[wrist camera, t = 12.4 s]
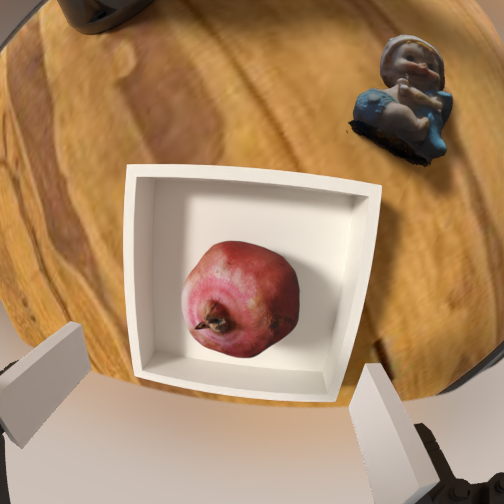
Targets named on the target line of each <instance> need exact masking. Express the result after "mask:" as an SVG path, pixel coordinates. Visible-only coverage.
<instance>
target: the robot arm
mask: <svg viewBox="0 0 504 504" xmlns="http://www.w3.org/2000/svg"><path fill="white" fill-rule="evenodd" d="M57 1H58V3H59V5H60V7H61V9H62V11H63V13H64V15H65V17H66V19H67V21H68V23H69V24H70V26H71V27H73V28H74V29H76V30H77V31H78V32H80V33H83V34H95V33H99V32H103V31H106V30H108V29H111V28H113V27H115V26H117V25H119V24H121V23H123V22H125V21H126V20H128V19H130V18H131V17H133V16H134V15H136V14H137V13H138V12H140V11H141V10H143V9H144V8H145V7H146V6H148V5H149V4H150V3H151V2H152V1H153V0H57ZM91 369H92V368H91V365H90V361H89V357H88V352H87V348H86V344H85V339H84V334H83V329H82V324H78V323H75V322H72V321H70V322H69V323H67V324H66V325H64V326H63V327H62V328H60V329H59V330H58V331H56V332H55V333H54V334H52V335H51V336H50V337H48V338H47V339H46V340H45V341H43V342H42V343H41V344H39V345H38V346H37V347H35V348H34V349H33V350H32V351H30V352H29V353H28V354H26V355H25V356H24V357H23V358H21V359H20V360H17V361H15V362H13V363H10V364H9V365H8V366H7V367H5V368H4V370H2V371H0V504H11V503H10V498H9V491H8V484H7V476H6V462H5V440H4V436H3V435H2V434H3V433H4V432H6V434H7V435H8V437H9V438H10V440H11V441H12V442H14V443H15V444H16V445H17V446H19V447H20V448H21V449H23V448H24V446H25V445H26V444H27V443H28V441H29V440H30V439H31V438H32V437H33V435H34V434H35V433H36V432H37V431H38V429H39V428H40V427H41V426H42V425H43V423H44V422H45V421H46V420H47V419H48V418H49V416H50V415H51V414H52V413H53V412H54V411H55V410H56V408H57V407H58V406H59V405H60V404H61V403H62V401H63V400H64V399H65V398H66V397H67V396H68V395H69V394H70V392H71V391H72V390H73V389H74V388H75V387H76V386H77V385H78V384H79V383H80V381H81V380H82V379H83V378H84V377H85V376H86V375H87V374H88V372H90V370H91ZM348 408H349V412H350V415H351V418H352V422H353V425H354V428H355V432H356V435H357V439H358V442H359V446H360V449H361V453H362V456H363V460H364V464H365V468H366V471H367V475H368V479H369V483H370V486H371V491H372V495H373V499H374V503H375V504H504V473H503V472H500V473H497V474H495V475H494V476H493V477H492V478H491V479H490V480H489V481H488V482H484V483H477V484H470V483H468V481H466V480H464V479H457V478H455V476H454V475H453V473H452V471H451V469H450V466H449V464H448V462H447V460H446V458H445V457H444V454H443V453H442V451H441V450H440V447H439V445H438V443H437V442H436V439H435V437H434V435H433V434H432V432H431V430H430V429H428V428H427V427H426V426H425V425H424V424H423V423H420V424H414V425H413V423H412V421H411V419H410V417H409V415H408V413H407V411H406V409H405V407H404V405H403V403H402V402H401V400H400V398H399V396H398V394H397V392H396V390H395V389H394V387H393V385H392V383H391V381H390V379H389V378H388V376H387V374H386V372H385V370H384V369H383V367H382V365H381V363H365V365H364V368H363V371H362V374H361V376H360V379H359V382H358V385H357V387H356V390H355V392H354V395H353V397H352V400H351V402H350V405H349V407H348Z"/></svg>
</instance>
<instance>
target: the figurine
mask: <svg viewBox="0 0 504 504" xmlns="http://www.w3.org/2000/svg"><path fill="white" fill-rule="evenodd" d="M380 76H381V78H382V79H383V81H384V83H385V85H386V86H387V87H389V89H385V90H381V89H377V88H371V89H368V90H367V91H366V92H363V93H361V94H360V95H359V96H358V98H357V101H356V103H355V107H354V111H353V118H354V120H353V121H351V122H349V124H350V125H351V127H352V130H353V131H354V132H355V133H357V134H358V135H360V136H361V135H363V136H366V137H367V138H368V139H370V140H372V141H374V142H375V144H377V145H378V146H380V147H382V148H385V149H389V151H390V152H391V153H393V155H395V156H399V157H401V158H403V159H405V160H406V161H408V162H409V163H411V164H413V165H414V164H416V165H418V164H419V165H423V166H424V167H426V166H427V165H430V164H431V161H432V159H434V158H439V157H440V156H444V155H445V153H446V151H447V147H446V145H445V142H444V141H443V139H442V138H441V131H442V129H443V127H444V125H445V123H446V122H447V120H448V118H449V116H450V113H451V110H452V105H453V98H452V95H451V94H449V93H447V92H444V91H443V89H444V85H445V76H444V62H443V59H442V58H441V56H440V54H439V52H438V51H437V50H436V49H435V48H434V47H433V46H432V45H430V44H429V43H427V42H426V41H424V40H422V39H420V38H418V37H416V36H411V35H399V36H397V37H395V38H391V39H389V42H388V43H387V44H386V46H385V48H384V50H383V53H382V57H381V62H380ZM378 132H381V134H382V135H383V136H384V137H380V138H379V137H378V136H377V135H378ZM347 133H348V132H347ZM387 137H391V138H393V139H395V140H396V143H393V142H391V140H390V139H388V138H387ZM408 145H409V149H408V150H407V151H406V152H405V149H406V148H407V146H408Z"/></svg>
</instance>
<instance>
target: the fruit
mask: <svg viewBox="0 0 504 504" xmlns="http://www.w3.org/2000/svg"><path fill="white" fill-rule="evenodd" d="M181 299H182V312H183V316H184V319H185V323H186V325H187V328H188V330H189V332H190V334H191V335H192V337H193V338H194V339H195V340H196V341H197V342H199V343H200V344H201V345H202V346H204V347H206V348H208V349H211V350H214V351H217V352H220V353H223V354H225V355H228V356H232V357H236V358H253V357H255V356H257V355H259V354H260V353H262V352H263V351H265V350H266V349H268V348H269V347H270V346H272V345H274V344H276V343H277V342H279V341H280V340H282V339H283V338H284V337H286V336H287V335H288V334H289V333H291V332H292V331H293V329H294V328H295V327H296V325H297V323H298V320H299V311H300V288H299V283H298V278H297V274H296V272H295V270H294V269H293V267H292V266H291V265H290V264H289V262H288V261H286V259H285V258H284V257H283V256H281V255H279V254H278V253H276V252H274V251H271V250H269V249H267V248H265V247H262V246H259V245H255V244H252V243H248V242H243V241H224V242H220V243H217V244H215V245H213V246H212V247H211V248H210V249H209V250H208V251H207V252H206V253H205V254H204V255H203V257H202V258H201V259H200V261H199V262H198V264H197V265H196V266H195V268H194V269H193V270H192V271H191V272H190V274H189V275H188V277H187V279H186V281H185V284H184V287H183V290H182V295H181Z"/></svg>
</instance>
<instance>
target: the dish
mask: <svg viewBox="0 0 504 504" xmlns="http://www.w3.org/2000/svg"><path fill="white" fill-rule="evenodd" d="M381 192H382V185H377V184H371V183H366V182H360V181H354V180H348V179H342V178H335V177H328V176H321V175H314V174H306V173H298V172H289V171H279V170H269V169H258V168H245V167H231V166H212V165H183V164H132V165H127V172H126V184H125V201H124V232H123V253H124V284H125V300H126V313H127V323H128V333H129V341H130V349H131V356H132V363H133V369H134V375H135V376H137V377H140V378H144V379H148V380H152V381H156V382H160V383H164V384H169V385H173V386H178V387H183V388H188V389H193V390H199V391H204V392H210V393H217V394H223V395H231V396H238V397H247V398H256V399H268V400H281V401H302V402H335V401H336V399H337V396H338V393H339V390H340V387H341V384H342V381H343V378H344V375H345V372H346V369H347V365H348V362H349V359H350V355H351V352H352V348H353V345H354V341H355V337H356V334H357V330H358V326H359V322H360V318H361V314H362V310H363V305H364V301H365V296H366V292H367V287H368V282H369V277H370V271H371V266H372V260H373V254H374V248H375V242H376V235H377V227H378V220H379V211H380V202H381ZM224 241H243V242H248V243H252V244H255V245H259V246H262V247H265V248H267V249H269V250H271V251H274V252H276V253H278V254H279V255H281V256H283V257H284V258H285V259H286V261H288V262H289V264H290V265H291V266H292V267H293V269H294V270H295V272H296V274H297V278H298V283H299V288H300V311H299V320H298V323H297V325H296V327H295V328H294V329H293V331H292V332H291V333H289V334H288V335H287V336H286V337H284V338H283V339H282V340H280V341H279V342H277V343H276V344H274V345H272V346H270V347H269V348H268V349H266V350H265V351H263V352H262V353H260V354H259V355H257V356H255V357H253V358H236V357H232V356H228V355H225V354H223V353H220V352H217V351H214V350H211V349H208V348H206V347H204V346H202V345H201V344H200V343H199V342H197V341H196V340H195V339H194V338H193V337H192V335H191V334H190V332H189V330H188V328H187V325H186V323H185V319H184V316H183V312H182V299H181V295H182V290H183V287H184V284H185V281H186V279H187V277H188V275H189V274H190V272H191V271H192V270H193V269H194V268H195V266H196V265H197V264H198V262H199V261H200V259H201V258H202V257H203V255H204V254H205V253H206V252H207V251H208V250H209V249H210V248H211V247H212V246H213V245H215V244H217V243H220V242H224Z"/></svg>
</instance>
